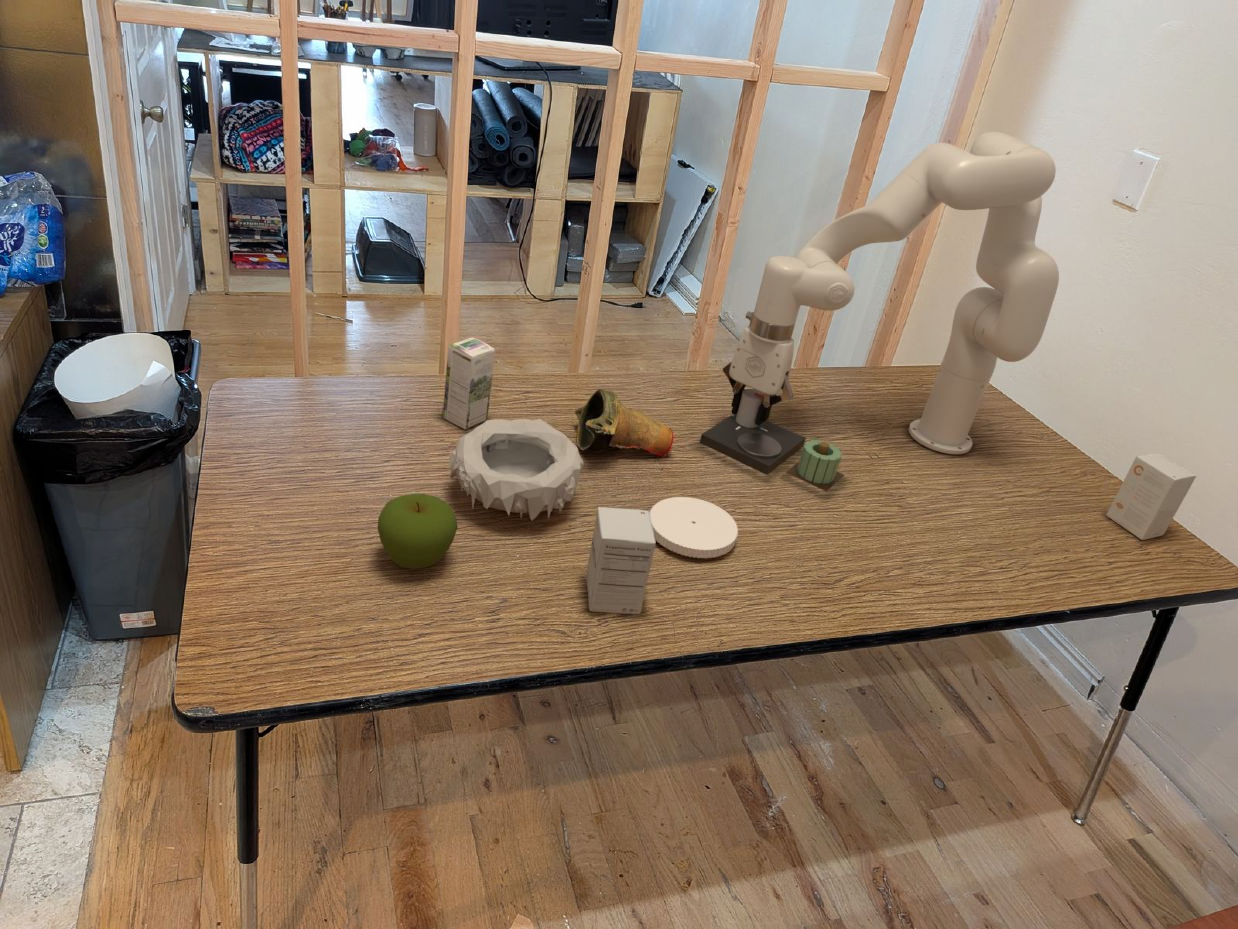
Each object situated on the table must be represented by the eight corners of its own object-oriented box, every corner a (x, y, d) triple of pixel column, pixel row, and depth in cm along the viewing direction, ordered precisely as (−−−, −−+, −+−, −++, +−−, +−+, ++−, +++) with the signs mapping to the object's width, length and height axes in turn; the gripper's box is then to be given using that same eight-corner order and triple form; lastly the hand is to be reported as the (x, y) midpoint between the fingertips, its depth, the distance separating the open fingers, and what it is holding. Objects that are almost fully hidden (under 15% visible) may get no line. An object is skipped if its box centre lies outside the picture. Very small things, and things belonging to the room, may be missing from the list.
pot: (696, 427, 155) (602, 390, 148) (671, 488, 156) (576, 455, 150) (661, 408, 171) (575, 374, 164) (638, 464, 172) (551, 433, 166)
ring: (806, 459, 168) (814, 436, 165) (839, 474, 165) (847, 451, 162) (791, 472, 163) (798, 448, 160) (824, 488, 160) (832, 464, 157)
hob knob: (731, 421, 172) (738, 391, 169) (742, 414, 175) (750, 384, 172) (751, 430, 170) (759, 400, 167) (762, 423, 173) (770, 393, 170)
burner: (750, 430, 170) (750, 428, 170) (788, 448, 166) (789, 445, 166) (728, 445, 164) (729, 442, 164) (768, 463, 160) (768, 460, 160)
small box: (1163, 536, 167) (1198, 475, 160) (1141, 541, 164) (1175, 480, 157) (1126, 510, 173) (1158, 451, 166) (1104, 515, 170) (1135, 455, 163)
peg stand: (803, 462, 169) (813, 428, 165) (842, 480, 166) (854, 446, 162) (784, 477, 163) (794, 442, 159) (824, 497, 160) (836, 461, 156)
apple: (417, 596, 122) (420, 535, 117) (359, 562, 126) (359, 502, 121) (470, 559, 130) (475, 501, 125) (414, 528, 134) (417, 470, 129)
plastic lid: (745, 564, 139) (749, 551, 138) (655, 562, 136) (658, 549, 135) (721, 511, 151) (725, 498, 150) (638, 508, 148) (641, 495, 146)
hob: (734, 420, 179) (738, 405, 178) (802, 451, 173) (806, 436, 171) (694, 446, 168) (697, 431, 166) (765, 480, 161) (769, 465, 160)
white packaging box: (584, 577, 131) (597, 504, 124) (635, 581, 132) (651, 509, 125) (587, 612, 124) (600, 537, 118) (641, 616, 125) (657, 542, 119)
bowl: (601, 492, 150) (610, 439, 145) (540, 555, 133) (548, 498, 128) (492, 449, 156) (497, 397, 151) (421, 504, 139) (423, 448, 134)
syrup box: (464, 408, 166) (470, 335, 159) (488, 421, 164) (496, 347, 156) (442, 418, 162) (446, 343, 155) (466, 431, 160) (472, 355, 152)
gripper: (720, 315, 163) (700, 405, 173) (805, 349, 156) (779, 442, 166) (741, 306, 169) (719, 394, 178) (823, 339, 162) (797, 428, 171)
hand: (748, 416), depth 172 cm, fingers closed on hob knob, 4 cm apart
